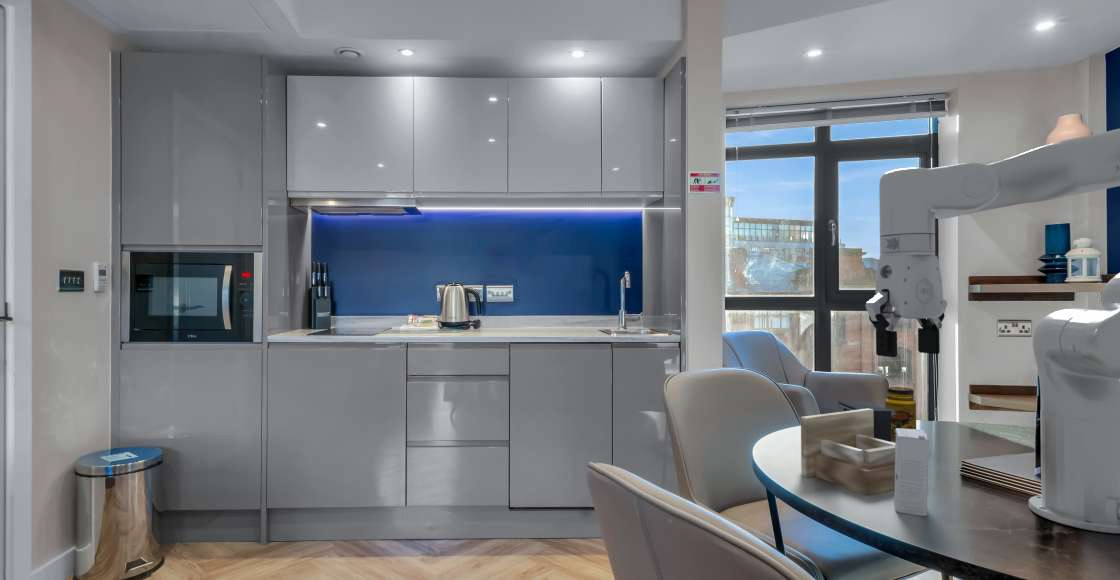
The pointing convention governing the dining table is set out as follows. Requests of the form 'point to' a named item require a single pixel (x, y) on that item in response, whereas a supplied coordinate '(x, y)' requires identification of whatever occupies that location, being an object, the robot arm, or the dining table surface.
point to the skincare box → (911, 471)
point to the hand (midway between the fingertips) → (908, 354)
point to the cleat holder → (847, 451)
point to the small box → (880, 417)
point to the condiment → (901, 409)
